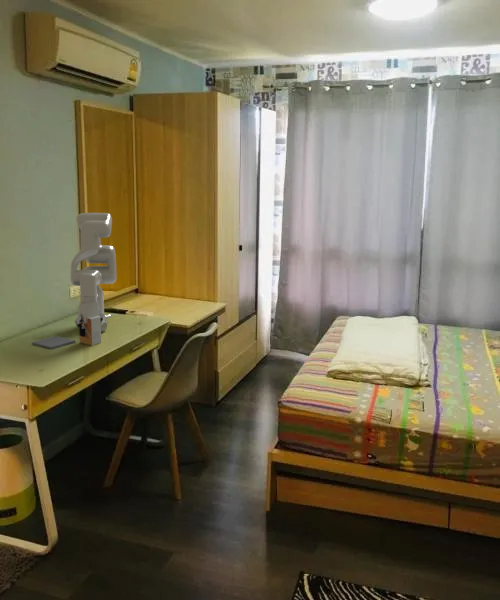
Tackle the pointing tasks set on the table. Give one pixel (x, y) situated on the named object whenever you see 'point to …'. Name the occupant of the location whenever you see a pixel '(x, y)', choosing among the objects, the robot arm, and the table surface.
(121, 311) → the table surface
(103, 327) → the air freshener
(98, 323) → the small box
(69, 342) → the rest mat
